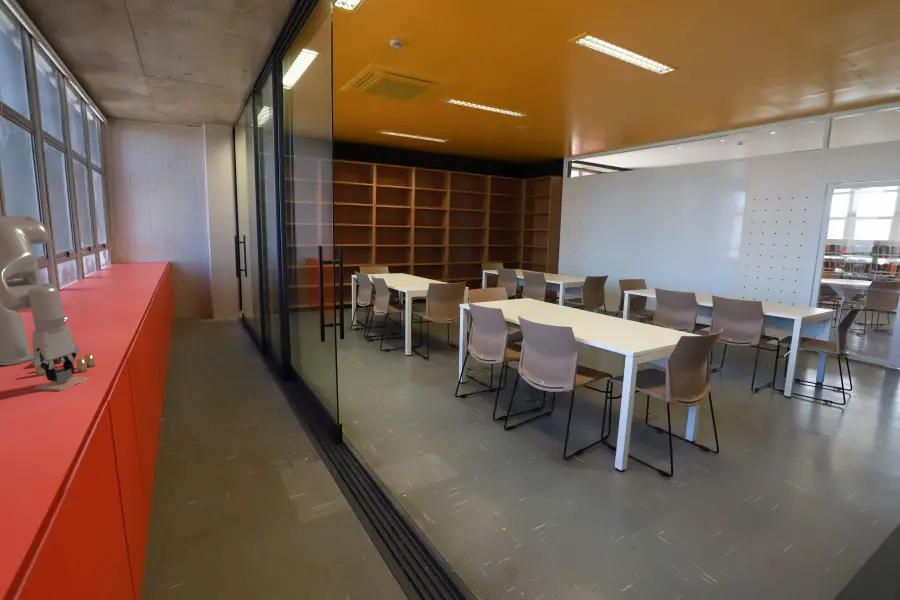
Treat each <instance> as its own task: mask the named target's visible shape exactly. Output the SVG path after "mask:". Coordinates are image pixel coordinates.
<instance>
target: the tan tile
mask: <svg viewBox="0 0 900 600" xmlns="http://www.w3.org/2000/svg"><path fill="white" fill-rule="evenodd" d="M89 379H90V380H91V377H89V376H88V377H87V376H73V377H72V378H70V379H68V380H64V381H60V382H51V381H49V382H46V383H43V384H40V385H38V386H34V390H35V391H48V392H49V391H52V392H62V391H64V390H67V389H69V388H68V387H70V388H72V387H74V386H73V385H75V384H77V385H79V384H78V383H80V384H82V383H84V381H85V382H87V380H88V381H90V380H89ZM81 382H82V383H81ZM71 386H72V387H71ZM75 386H76V385H75ZM66 388H67V389H66ZM63 389H64V390H63ZM61 390H62V391H61Z"/></svg>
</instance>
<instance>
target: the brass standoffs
mask: <svg viewBox="0 0 900 600" xmlns="http://www.w3.org/2000/svg"><path fill="white" fill-rule="evenodd" d="M75 361H76V366H77V371H78V373H84V372H87V371H88V370H87V368H94V367H95V366H96V364H95V359H94V355H93V353H88V354H85V355H84V357H82V358H78V359H75ZM64 362H65V361H64V360H63V363H64ZM42 363H43V362H42ZM33 366H34V369H35V374H36V375H35V376H36V377H41V376H42V377H43V376H46V372H45V369H42V368H41V367H39V366H37V365H34V364H33ZM53 368H55V369H56V366H55V363H54V361H53Z"/></svg>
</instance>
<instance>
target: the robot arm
mask: <svg viewBox="0 0 900 600" xmlns="http://www.w3.org/2000/svg"><path fill="white" fill-rule="evenodd" d="M48 241H49V233H48V229H47V227H46V225H44V223H42V222H41V221H40V220H38V219H36V218H33V216H27V215H26V216H25V215H9V216H3V215H1V216H0V365H7V366H13V364H14V365H18V364H19V365H20V364H22V363H27V362H31V365H33V366H34V365H37V366H39V367H41V368H42V369H45V373H46V374H45V376H46V379H47V381H50V380H53V381H55V380H57V376H56V367H55V368H53V361H54V359H57V358H60V357H62V358H63V363H62V364H63V368H71V369H72V374H73V375H74V374H75V373H76V372H75V367H74V362H75V360H76V357H77V355H78V353H79V352H80V350H81V348H80V347H78V346H77V345H76V344H75V340H74V337H73V334H72V331H71V329H70V326H69V325H68V324H67V323H66V322H67V321H68V320H69V319H68V317H67V316H65V313H64V308H63V303H62V298H61V294H60V290H59V288H58V287H57V286H56V285H53V284H52V283H41V273H40V268H39V262H38V261H37V255H36V253H35V251H34V249H33V247H32V245H43V244H46V243H47V242H48ZM27 309H30V310H31V315H32V319H33V323H34V328H35V330H33V331H32V337H31V338H32V343H31V344H32V352H33V353H31V351H30V347H29V343H28V339H27V338H28V337H27V333H26V329H25V325H24V321H23V315H21V313H20V312H19V311H20V310H27ZM40 360H43V363H42V362H41V361H40ZM64 361H65V362H64Z"/></svg>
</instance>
